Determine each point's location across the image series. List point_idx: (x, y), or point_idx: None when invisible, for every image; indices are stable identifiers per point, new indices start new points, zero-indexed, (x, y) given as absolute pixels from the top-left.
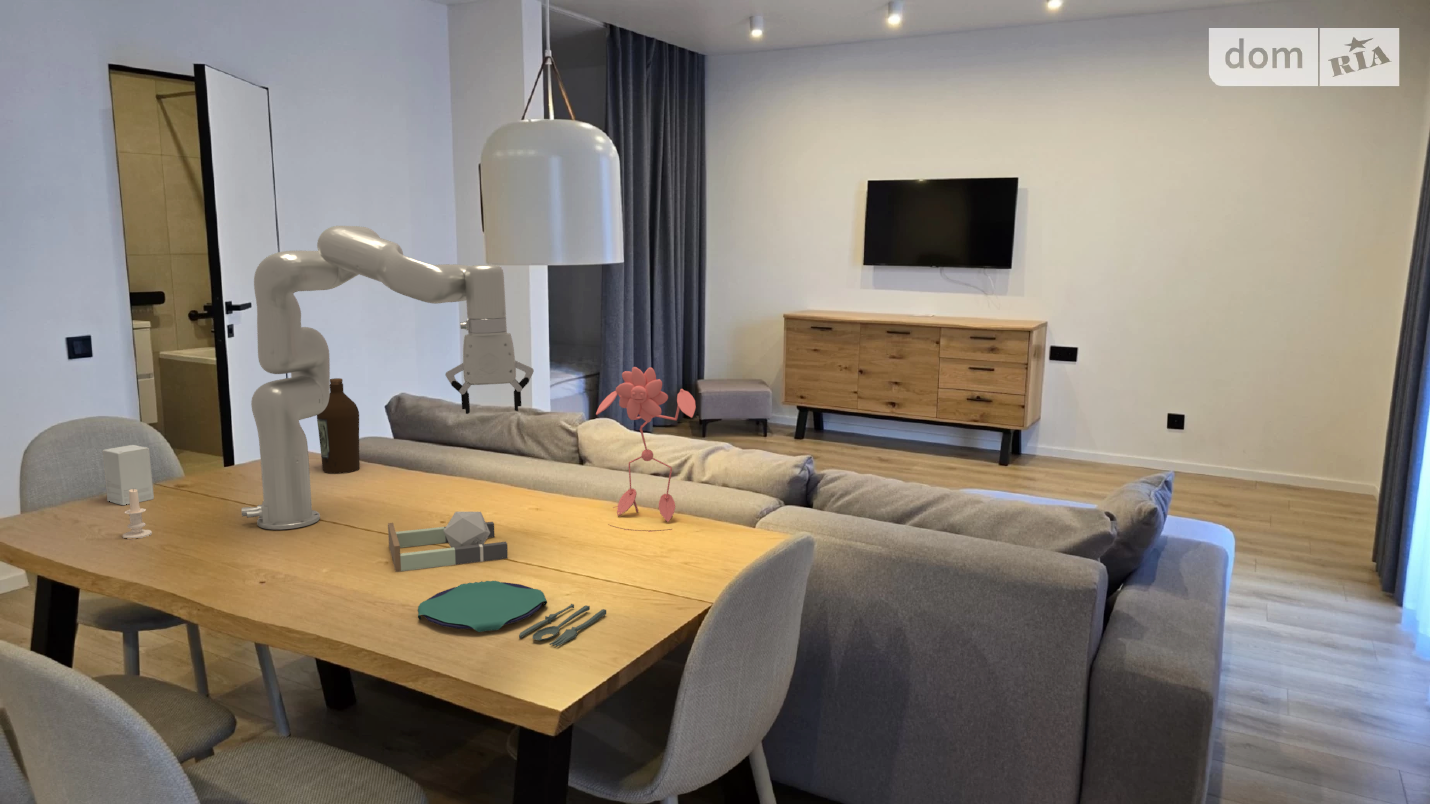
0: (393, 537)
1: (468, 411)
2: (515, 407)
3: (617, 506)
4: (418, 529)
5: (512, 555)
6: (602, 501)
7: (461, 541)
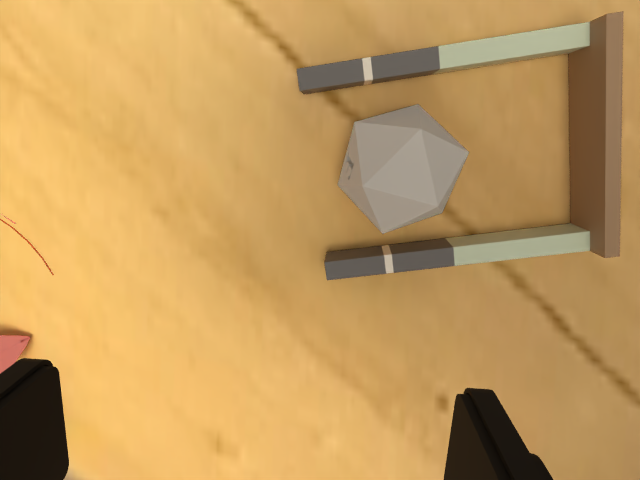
0: (617, 106)
1: (469, 399)
2: (28, 379)
3: None
4: (522, 257)
5: (288, 97)
6: None
7: (418, 105)
